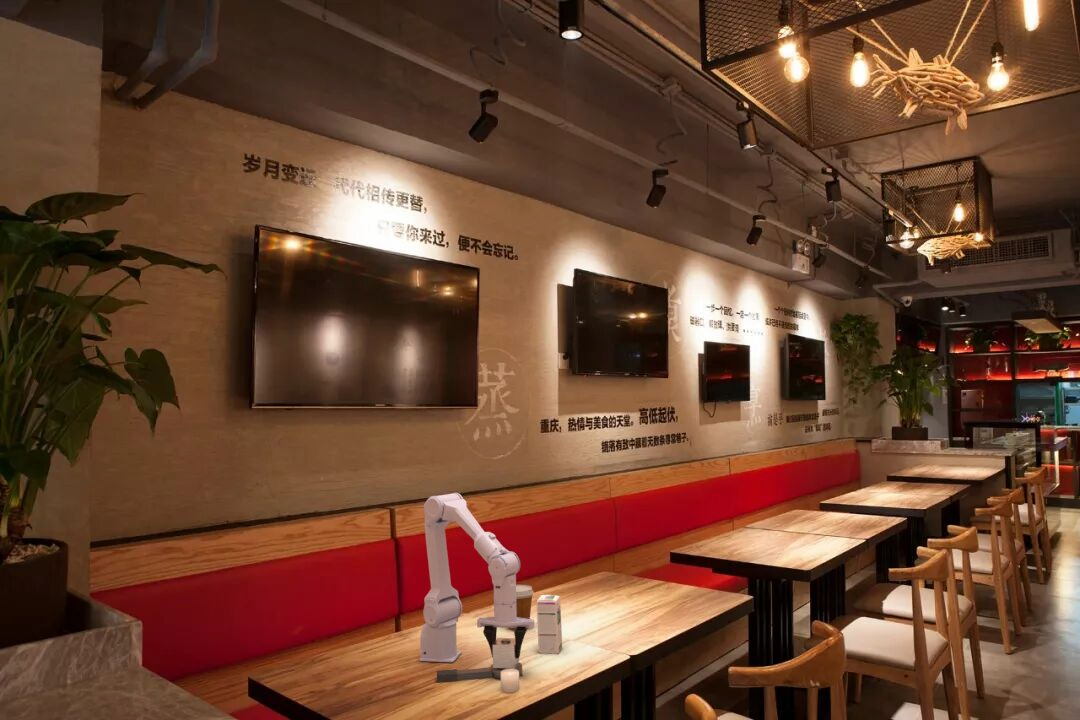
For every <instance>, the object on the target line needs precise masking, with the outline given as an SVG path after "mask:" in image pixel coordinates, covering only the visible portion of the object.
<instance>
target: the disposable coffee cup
mask: <svg viewBox="0 0 1080 720" xmlns="http://www.w3.org/2000/svg"><path fill="white" fill-rule="evenodd" d="M533 595H534V590H533V587H532V586H531V585H527V584H516V612H517V617H519V618H525V619H531V612H532V611H531V609H532V603H533V602H532V601H533ZM508 629H509V630H510V631H515V630H516V629H517V628H508ZM527 630H529V628H527Z"/></svg>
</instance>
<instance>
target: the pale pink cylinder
mask: <svg viewBox="0 0 1080 720" xmlns="http://www.w3.org/2000/svg"><path fill="white" fill-rule="evenodd" d="M519 690H520V677H519V671H518V670H516V669H505V670H502V671H501V680H500V691H501V692H503V693H506V694H508V693H509V694H512V693H517V692H519Z"/></svg>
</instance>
